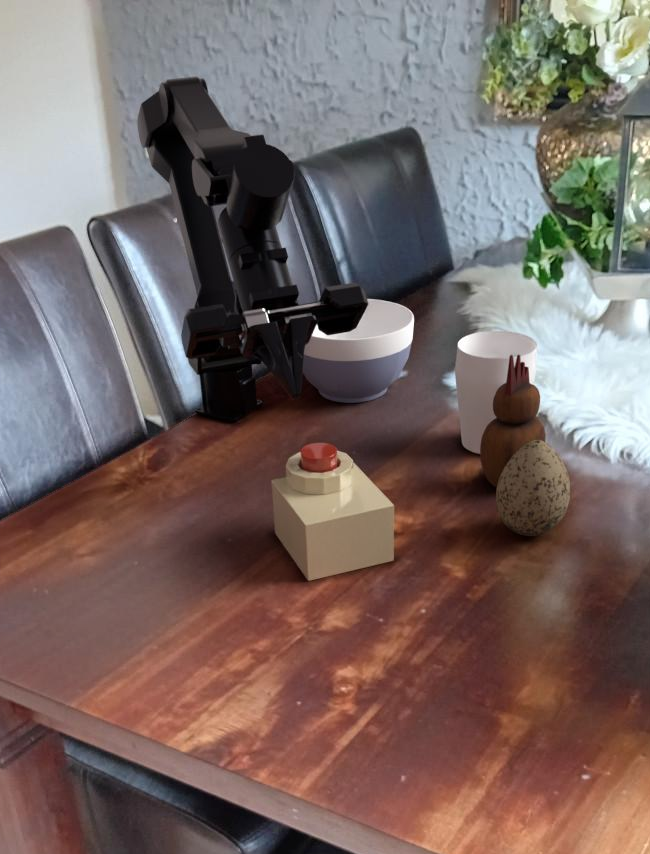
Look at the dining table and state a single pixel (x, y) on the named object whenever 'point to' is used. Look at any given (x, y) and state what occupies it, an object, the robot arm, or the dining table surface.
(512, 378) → the wooden figurine
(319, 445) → the red push button
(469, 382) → the cup
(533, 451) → the decorative egg
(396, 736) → the dining table surface
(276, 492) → the button base
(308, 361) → the bowl
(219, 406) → the robot arm
